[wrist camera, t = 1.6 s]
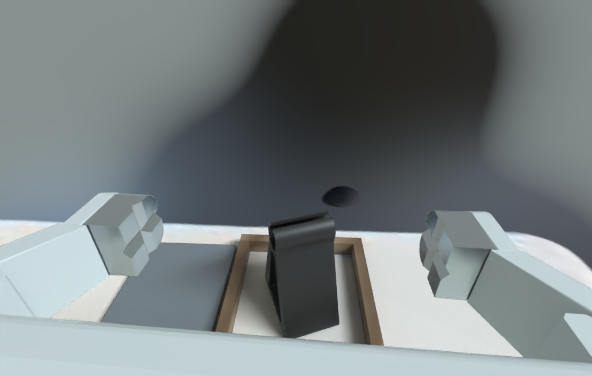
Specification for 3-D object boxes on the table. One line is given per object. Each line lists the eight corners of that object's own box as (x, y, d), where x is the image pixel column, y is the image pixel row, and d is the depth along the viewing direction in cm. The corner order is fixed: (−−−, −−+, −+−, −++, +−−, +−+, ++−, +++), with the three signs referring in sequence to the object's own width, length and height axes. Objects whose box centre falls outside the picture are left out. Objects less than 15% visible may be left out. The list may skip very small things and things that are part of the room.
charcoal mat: (92, 342, 31) (90, 338, 31) (151, 245, 43) (150, 242, 43) (209, 346, 31) (208, 343, 31) (236, 248, 43) (235, 245, 42)
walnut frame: (209, 375, 29) (206, 364, 28) (242, 244, 43) (241, 234, 42) (385, 382, 28) (389, 371, 27) (359, 248, 43) (361, 238, 42)
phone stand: (339, 326, 33) (351, 244, 26) (285, 342, 31) (285, 260, 25) (309, 265, 40) (313, 189, 34) (265, 276, 39) (260, 199, 32)
